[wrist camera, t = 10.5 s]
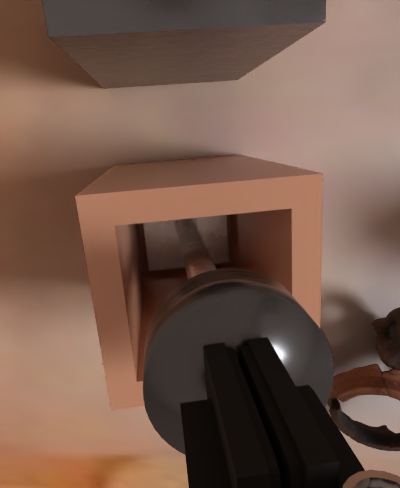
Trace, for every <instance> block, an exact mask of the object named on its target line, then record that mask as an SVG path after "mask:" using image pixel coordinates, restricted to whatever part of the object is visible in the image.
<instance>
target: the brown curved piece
mask: <svg viewBox="0 0 400 488" xmlns="http://www.w3.org/2000/svg"><path fill="white" fill-rule="evenodd" d="M372 324H373V327H374V329H375V332H376V335H377V336H376V341H377V344H376V350H377V352H378V354H379V356H380V358H381V360H382V361H383V363H384V364H386V365H387V366H388V367H392V368H393V369H391V370H389V371H384V372H382V371H381V369H380V368H379V365H378V364H371V365H368V366H364V367H359V368H354V369H352V370H350V371H347V372H343V373H340V374H337V375H336V376H334V379H333V386H332V390H331V394H330V396H329V399H328V402H327V404H328V405H329V407H330V410H329V411H330V415H331V418H332V420H333V421H334V423H335V424H336V426H337V427H338V429H339V430H340V431H342V432H343V433H344V434H346V435H347V436H350V438H351V439H353V440H355V441H356V442H358V443H361V444H364V445H366V446H368V447H372V448H376V449H379V450H386V451H400V433H397V434H396V433H394V432H392V431H390V430H389V429H388V428H387V426H386V425H382V426H380V427H371V426H368V425H365V424H363V423H360V422H358V421H354V420H352V419H351V418H350V417H349V416H347V415H346V414H345V413H343V412H342V411H341V407H340V403H339V401H338V400H337V399H339V400H341V401H342V402H345V401H347V400H349V399H351V398H353V397H356V396H358V395H384V396H390V397H392V398H395V399H398V400H400V307H399V308H396V309H394V310H393V311H391V312H390V313H389V314H388V315H387V317H386V318H380V319H377V320H375V321H373V322H372Z"/></svg>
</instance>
